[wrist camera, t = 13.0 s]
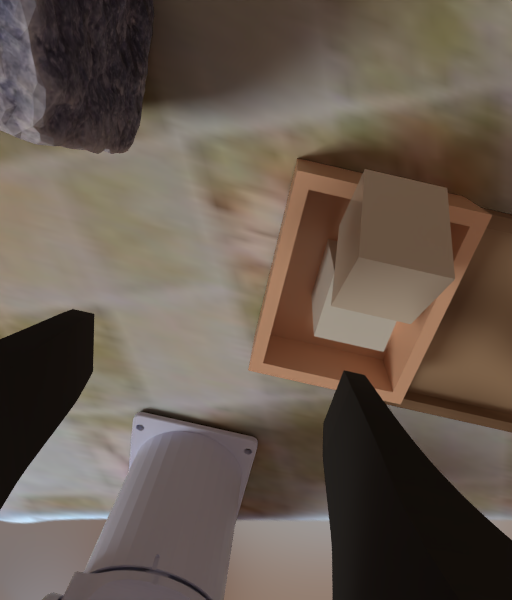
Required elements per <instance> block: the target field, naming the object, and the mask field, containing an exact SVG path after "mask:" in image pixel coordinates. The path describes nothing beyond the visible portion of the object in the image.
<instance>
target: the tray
mask: <svg viewBox="0 0 512 600" xmlns="http://www.w3.org/2000/svg"><path fill="white" fill-rule="evenodd" d="M480 208H481V207H480ZM482 209H484V210H485V211H487V212H488V213H490V214H491V215H492V217H491V219H490V221H489V223H488V225H487V228H486V230H485V232H484V234H483V236H482V238H481V240H480V242H479V244H478V246H477V248H476V250H475V252H474V254H473V256H472V258H471V260H470V263H469V265H468V267H467V269H466V271H465V273H464V275H463V277H462V279H461V281H460V283H459V285H458V287H457V289H456V291H455V293H454V295H453V298H452V300H451V302H450V304H449V306H448V308H447V310H446V312H445V314H444V316H443V318H442V320H441V322H440V324H439V326H438V328H437V330H436V333H435V335H434V337H433V339H432V341H431V343H430V345H429V347H428V349H427V351H426V353H425V355H424V357H423V359H422V361H421V363H420V366H419V368H418V370H417V372H416V374H415V376H414V378H413V380H412V382H411V384H410V386H409V388H408V390H407V392H406V394H405V396H404V398H403V401H402V403H401V405H400V404H396V403H392V402H387V401H384V402H385V404H388V405H392V406H397V407H401V408H406V409H410V410H415V411H419V412H424V413H428V414H432V415H437V416H441V417H446V418H450V419H455V420H459V421H464V422H468V423H473V424H477V425H481V426H486V427H490V428H495V429H499V430H504V431H508V432H512V215H511V214H507V213H502V212H498V211H494V210H489V209H485V208H482Z"/></svg>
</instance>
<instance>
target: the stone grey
mask: <svg viewBox="0 0 512 600" xmlns="http://www.w3.org/2000/svg"><path fill="white" fill-rule="evenodd" d="M337 243H338V241H335V240H330V239H328V241H327V244H326V247H325V251H324V254H323V257H322V261H321V264H320V267H319V271H318V274H317V277H316V281H315V284H314V287H313V291H312V294H311V296H312V312H313V329H314V336H315V337H320V338H324V339H328V340H333V341H337V342H342V343H346V344H351V345H355V346H360V347H364V348H369V349H373V350H377V351H382V352H384V350H385V348H386V345H387V343H388V340H389V338H390V336H391V333H392V331H393V329H394V326H395V324H396V322H397V321H394V320H390V319H386V318H381V317H377V316H372V315H368V314H364V313H359V312H355V311H350V310H346V309H342V308H337V307H333V306H331V300H332V291H333V281H334V272H335V262H336V253H337Z"/></svg>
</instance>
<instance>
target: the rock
mask: <svg viewBox="0 0 512 600" xmlns="http://www.w3.org/2000/svg"><path fill="white" fill-rule="evenodd" d="M153 18H154V7H153V0H0V130H1V131H3V132H6V133H8V134H11V135H13V136H15V137H18V138H20V139H23V140H26V141H28V142H31V143H34V144H40V145H49V146H62V147H66V148H71V149H81V150H88V151H90V152H93V153H97V154H99V153H101V152H102V151H106V152H108V153H111V154H113V153H124V152H126V151H128V149H129V148H130V147H131V145H132V144H133V141H134V138H135V135H136V133H137V130H138V128H139V126H140V120H141V112H142V101H143V96H144V93H145V81H146V77H147V74H148V54H149V51H150V43H151V37H152V32H153Z"/></svg>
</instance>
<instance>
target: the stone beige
mask: <svg viewBox="0 0 512 600" xmlns="http://www.w3.org/2000/svg"><path fill="white" fill-rule="evenodd" d="M454 280H455V273H454V261H453V250H452V238H451V227H450V215H449V203H448V192H447V188H445V187H441V186H437V185H432V184H428V183H424V182H419V181H415V180H411V179H406V178H402V177H398V176H393V175H389V174H385V173H380V172H376V171H372V170H368V169H364V172H363V174H362V176H361V178H360V181H359V183H358V185H357V187H356V189H355V192H354V194H353V196H352V198H351V200H350V203H349V205H348V207H347V209H346V212H345V214H344V216H343V218H342V220H341V223H340V225H339V234H338V243H337V253H336V262H335V272H334V281H333V291H332V300H331V306H333V307H337V308H342V309H346V310H350V311H355V312H359V313H364V314H368V315H372V316H377V317H381V318H386V319H390V320H394V321H399V322H403V323H408V324H411V323H412V322H413V321H414V320H415V319H416V318H417V317H418V316H419V315H420V314H421V313H422V312H423V311H424V310H425V309H426V308H427V307H428V306H429V305H430V304H431V303H432V302H433V301H434V300H435V299H436V298H437V297H438V296H439V295H440V294H441V293H442V292H443V291H444V290H445V289H446V288H447V287H448V286H449V285H450V284H451V283H452V282H453V281H454Z"/></svg>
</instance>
